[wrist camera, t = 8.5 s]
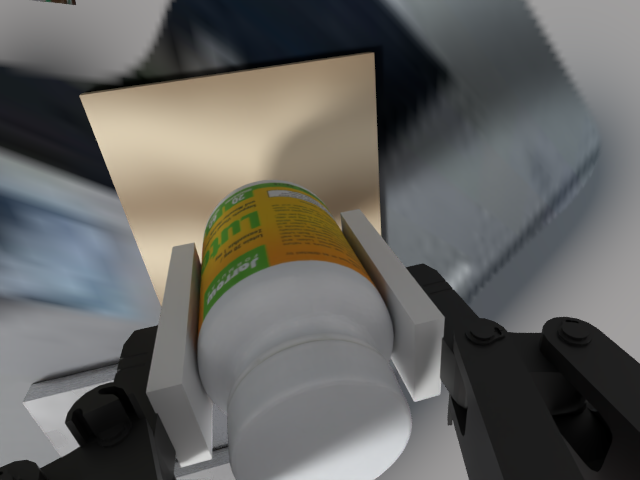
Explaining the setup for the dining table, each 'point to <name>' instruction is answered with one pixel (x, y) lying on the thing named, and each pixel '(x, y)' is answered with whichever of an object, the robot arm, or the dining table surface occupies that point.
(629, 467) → the robot arm
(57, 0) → the food container
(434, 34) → the dining table surface
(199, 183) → the oak pad
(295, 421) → the supplement bottle
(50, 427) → the grey square frame
